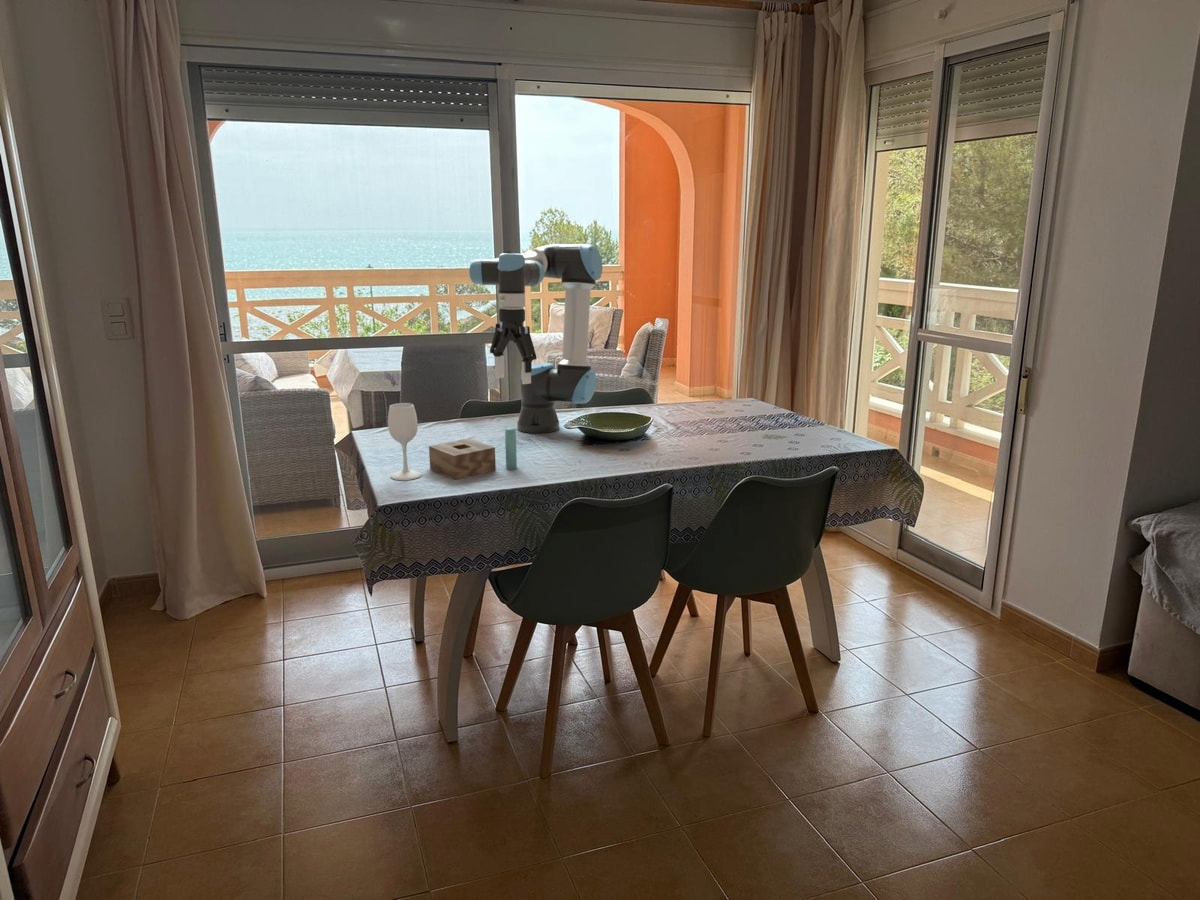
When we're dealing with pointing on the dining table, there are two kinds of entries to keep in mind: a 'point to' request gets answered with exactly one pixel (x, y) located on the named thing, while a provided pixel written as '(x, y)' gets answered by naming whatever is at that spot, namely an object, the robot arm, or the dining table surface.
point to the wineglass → (403, 434)
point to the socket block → (462, 458)
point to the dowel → (510, 448)
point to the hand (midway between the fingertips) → (512, 380)
